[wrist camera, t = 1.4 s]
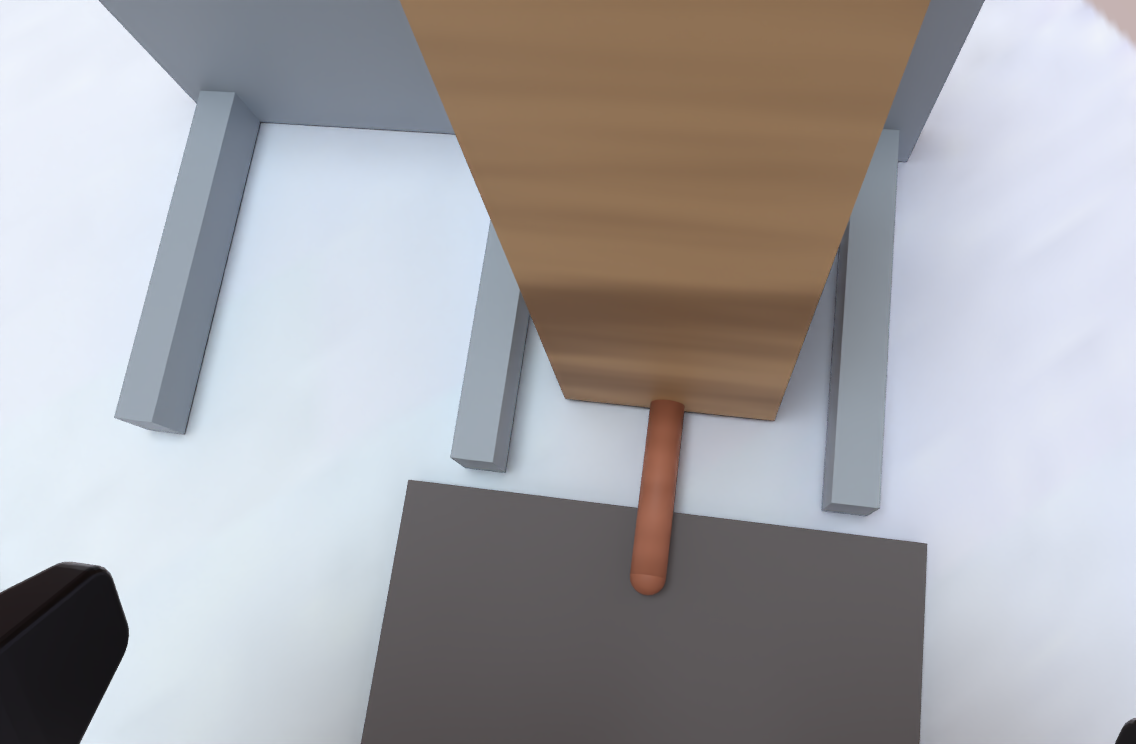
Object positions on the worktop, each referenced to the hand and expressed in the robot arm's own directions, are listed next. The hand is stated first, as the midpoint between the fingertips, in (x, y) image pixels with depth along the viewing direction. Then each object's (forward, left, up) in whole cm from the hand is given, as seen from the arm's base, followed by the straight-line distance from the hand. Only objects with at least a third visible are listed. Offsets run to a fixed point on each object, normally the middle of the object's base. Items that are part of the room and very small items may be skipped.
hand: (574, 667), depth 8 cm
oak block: (+5, -3, -13) cm, 14 cm away
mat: (-1, 0, -13) cm, 13 cm away
